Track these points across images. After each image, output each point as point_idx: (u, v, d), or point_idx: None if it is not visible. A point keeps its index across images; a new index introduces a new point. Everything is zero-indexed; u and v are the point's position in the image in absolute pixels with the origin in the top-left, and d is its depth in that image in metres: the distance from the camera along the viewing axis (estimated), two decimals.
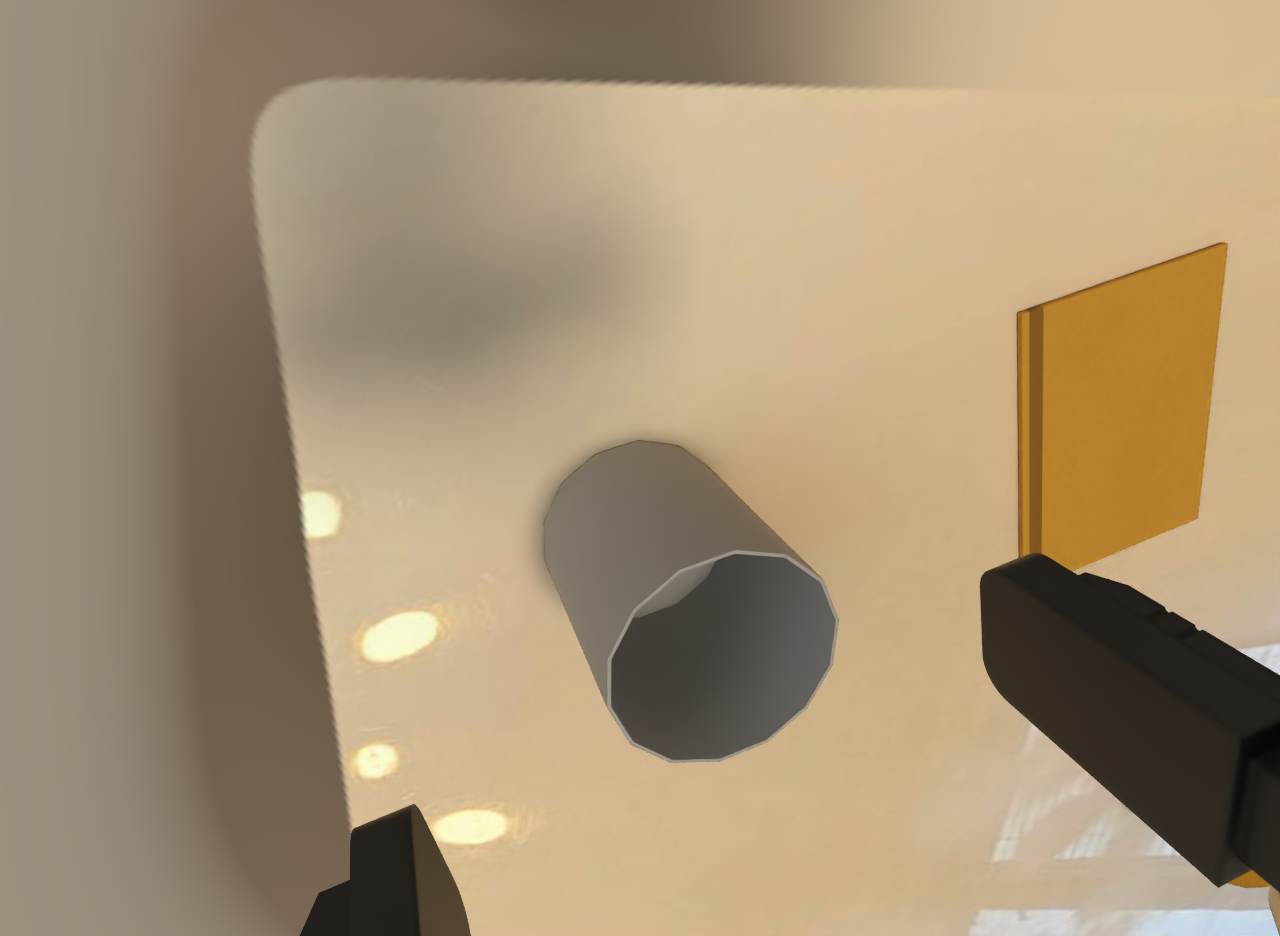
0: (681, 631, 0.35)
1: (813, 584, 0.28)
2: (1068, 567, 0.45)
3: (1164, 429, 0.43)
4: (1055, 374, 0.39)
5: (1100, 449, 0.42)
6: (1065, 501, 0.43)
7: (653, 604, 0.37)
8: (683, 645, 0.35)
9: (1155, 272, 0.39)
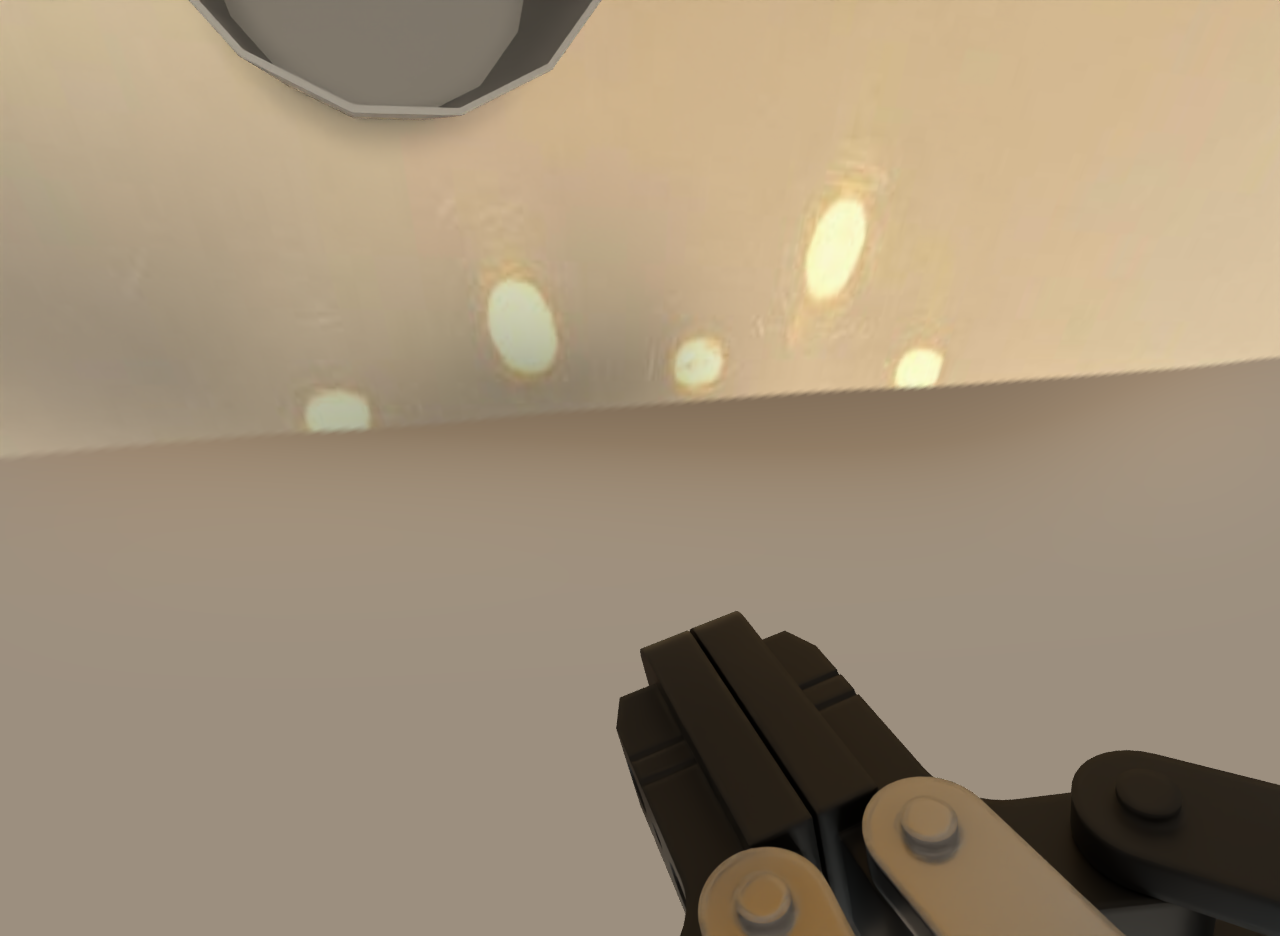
0: None
1: None
2: None
3: None
4: None
5: None
6: None
7: None
8: None
9: None
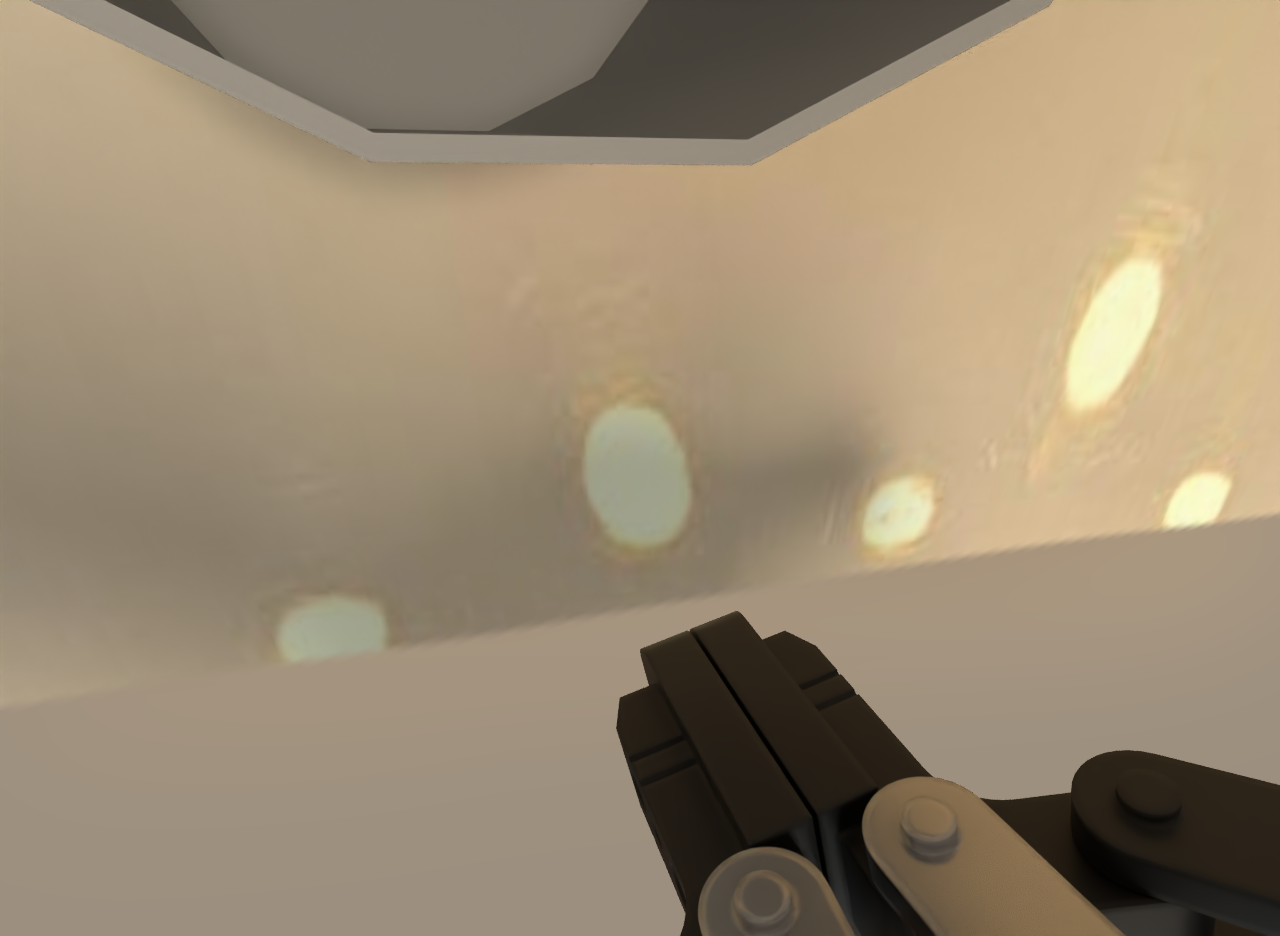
0: None
1: None
2: None
3: None
4: None
5: None
6: None
7: None
8: None
9: None
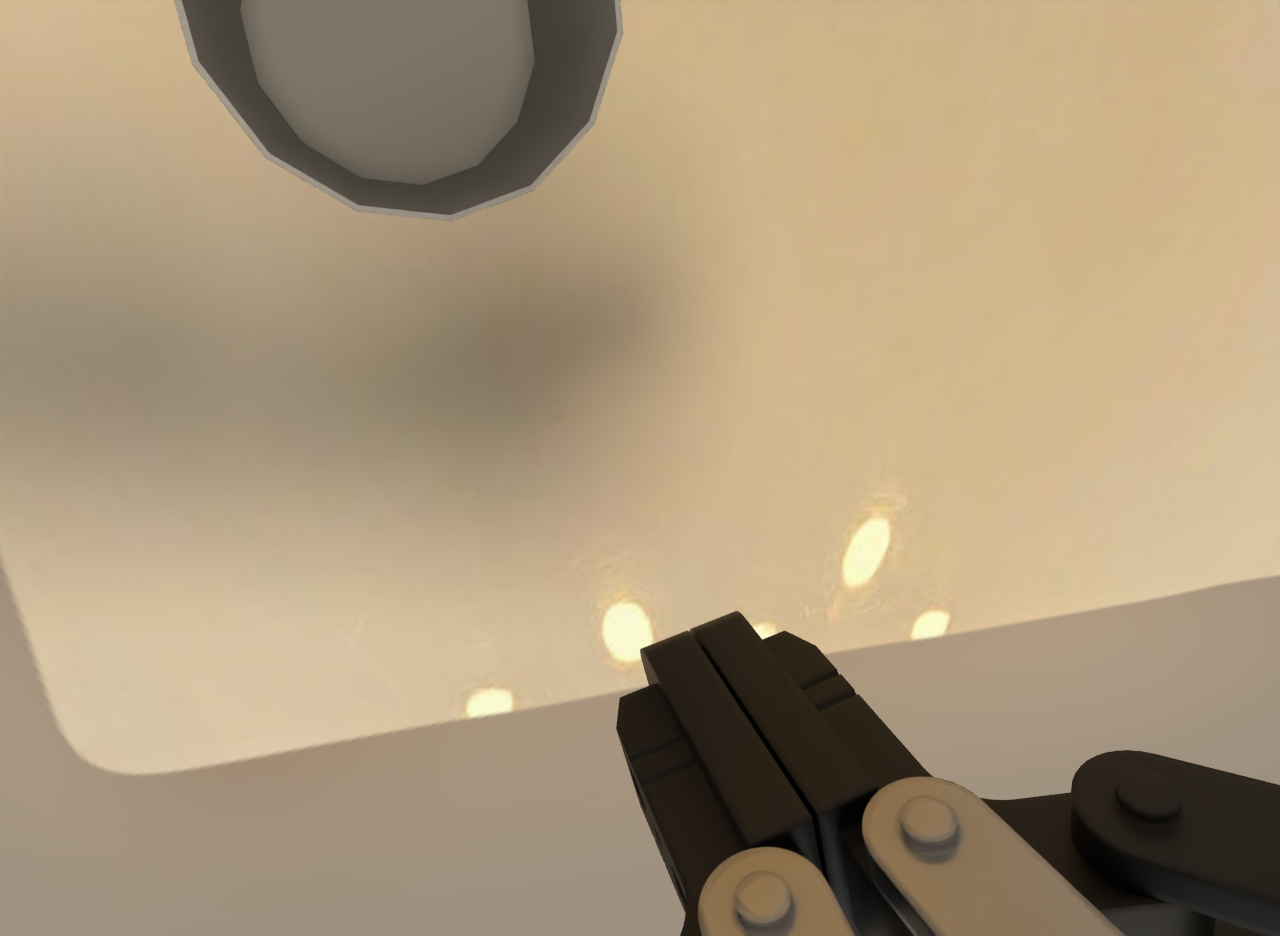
0: None
1: None
2: None
3: None
4: None
5: None
6: None
7: None
8: None
9: None
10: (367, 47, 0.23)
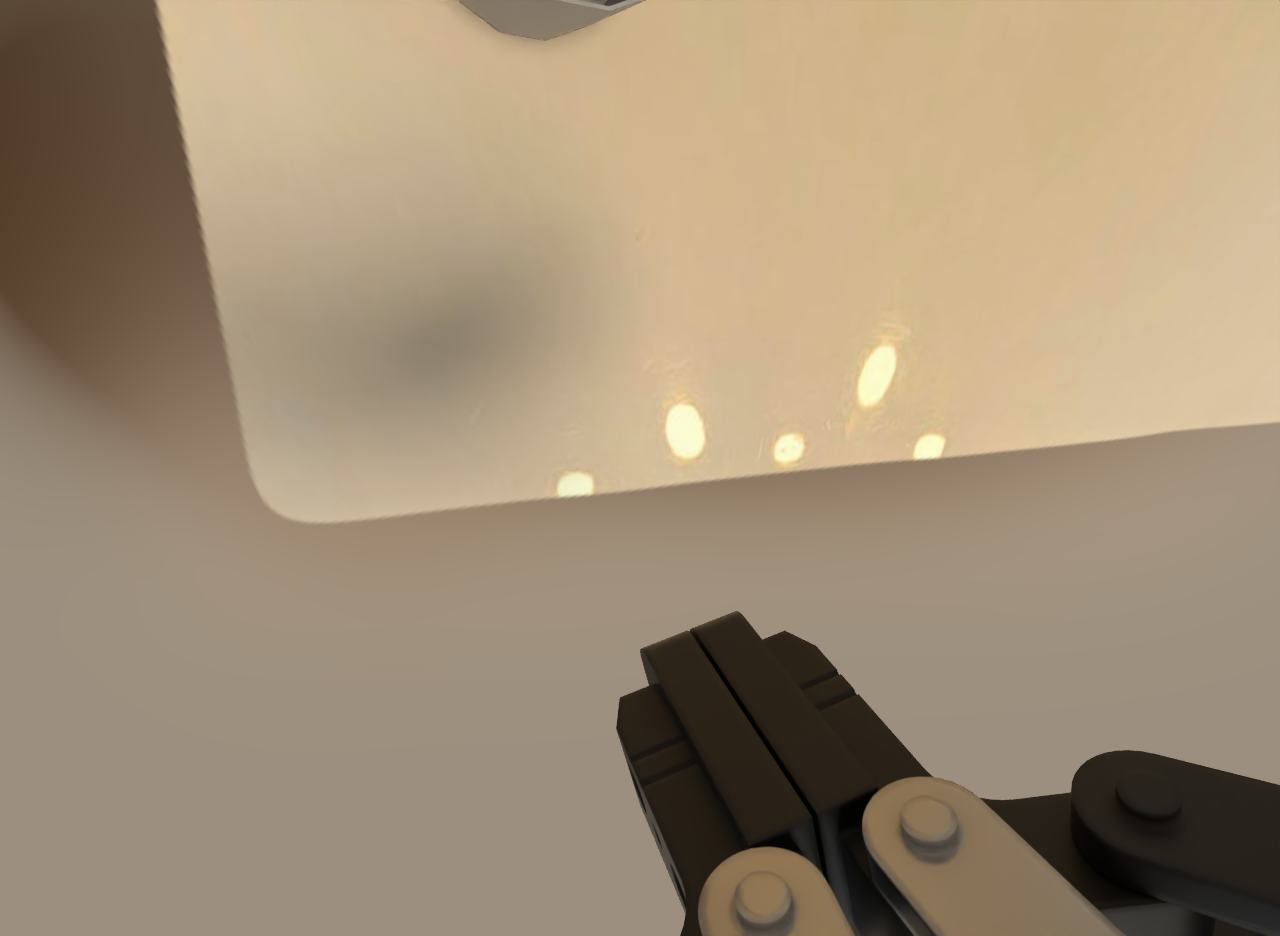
0: None
1: None
2: None
3: None
4: None
5: None
6: None
7: None
8: None
9: None
10: None
